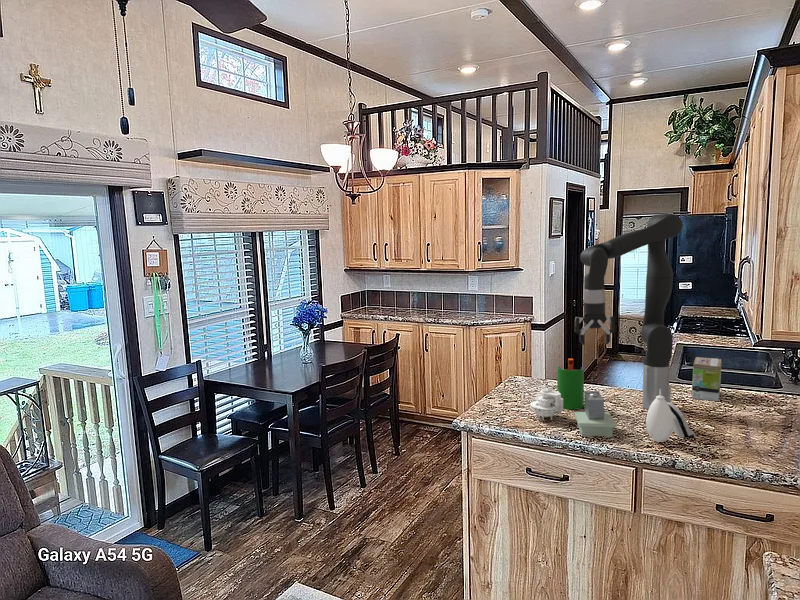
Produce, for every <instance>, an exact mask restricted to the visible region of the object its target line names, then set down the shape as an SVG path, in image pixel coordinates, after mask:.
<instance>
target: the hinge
mask: <svg viewBox="0 0 800 600" xmlns="http://www.w3.org/2000/svg"><path fill="white" fill-rule="evenodd" d="M667 403H668V405H669V407H670V410H671V412H672V416H673V430H672V432H674V433H675V434H676V435H677V436H678V437H679V438H680V439H683V438H685V436H688V437H690V436H692V437H693V438H694V439H696V438H697V436H696V433H695V432H694V431H693V430H692V429H691V428H690V426H689V425H688V422H687V420H686V417H685V415H684V414H683V413H682V411H681V410H680V409H679V408H678V407H677V406H676V404H673V403H672V402H667Z"/></svg>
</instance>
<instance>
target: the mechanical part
mask: <svg viewBox="0 0 800 600" xmlns="http://www.w3.org/2000/svg"><path fill="white" fill-rule="evenodd" d="M541 388H542V389H541V390H540V391H539V395H536V396H535V398H534V399H535V400H534V401H531V402H530V404H529V408H530V409H531V410H532V411H534V414H535V415H536V419H539V416H540V417H541V418H542V419H541V420H543V421H545V418H544V417H549V418H550V421H553V416H555V415H556V414H559V413H560V414H561V413H562V412H563V411H564V408H563V398H561V393H559V392H558V391H557V390H553V387H552V386H549V387H547V385H543V386H542V387H541Z"/></svg>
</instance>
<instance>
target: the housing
mask: <svg viewBox="0 0 800 600" xmlns="http://www.w3.org/2000/svg"><path fill="white" fill-rule="evenodd" d="M583 408H584V409H583V410H584V411H583V412H585V413H586V415H587V417H588V419H589V420H604V411H605V398H604V397H603V396H602V395H601V394H600V391H599V390H584V407H583Z"/></svg>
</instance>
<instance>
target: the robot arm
mask: <svg viewBox="0 0 800 600" xmlns="http://www.w3.org/2000/svg"><path fill="white" fill-rule="evenodd" d="M683 226H684V224H683V220H682V219H681V217H680V216H679V215H677V214H675V213H660V214H655V215H652V216H651V217H650V218H649V220H648V222H647V227H644V228H641V229H638V230H634V231H631V232H626V233H623V234H621V235H620V234H619V235H618V236H616V237H614V238H611V239H609V240H607V241H604V242H601V243H597V244H594V245H591V246H588V247H587V248H585V249H583V250H582V251H581V253H580V256H579V257H580V262H581V263H582V265H584V266H586V267H589V272H588V273H586V274H585V275H584V278H583V279H584V280H583V281H584V282H583V284H584V285H583V287H584V288H583V290H584V291H583V315H582V317H579V316H575V318H574V328H573V330H574V332H575V334H577V335H579V343H580V344H581V345H584V346H585V333H586V331H588V330H589V329H592V330H593V329H600V328H601V329H602V330H603V332H605V334H604V343H605V345H609V343H611V334H613V333H615V332H616V322H615V317H614V316H613V315H610V316H606V293H605V276H606V273H607V268H608V266H609V265H608V263H609V260H611V259H616V258H619V257H622V256H624V255H626V254H628V253H631V252H632V251H635V250H637V249H639V248H642V247H644V246H647V267H646V278H645V279H646V280H645V299H644V300H645V302H644V315H643V321H642V324H641V325H642V326H641V331H640V333H641V334H640V335H641V339H642V341H643V342H644V343H645V344H646V346H647V347H646V355H645V356H643V361H642V362H643V365H642V408H643V409H645V410H649V408H650V406H651V404H652V402H653V401H654V400H655V399H656V396H659V393H660V389H661V396H664V397H665V400H666V402H670V403H672V402H671V400H672V399H671V393H672V387H671V386H672V385H670V363H671V360H672V357H673V347H674V346H673V343H674V342H673V340H674V337H673V333H672V331H671V330H670V328H668V326H666V325H665V311H666V306H667V304H668V302H669V300H670V297H671V295H672V292H673V291H672V290H673V286H674V285H673V282H674V272H673V268H672V265H671V263H670V260H669V257H668V254H667V251H666V247H667V244H666V243H667V239H672V238H675V237H677V236H678V235H679V234H680V233H681V231H682V230H683ZM582 322H583V326H582V328H581V329H580V324H581V323H582ZM606 322H608V323H609V328H610V329H608V328H607V327H606V325H605V323H606Z"/></svg>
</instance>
